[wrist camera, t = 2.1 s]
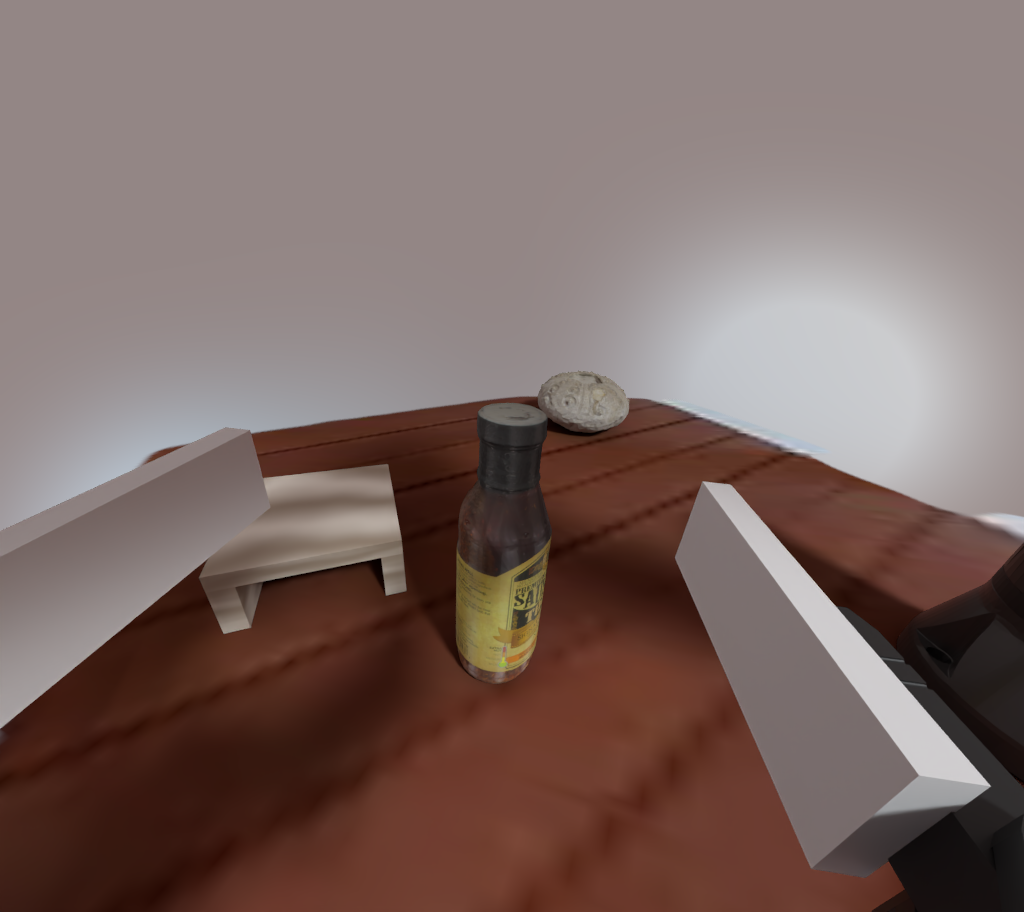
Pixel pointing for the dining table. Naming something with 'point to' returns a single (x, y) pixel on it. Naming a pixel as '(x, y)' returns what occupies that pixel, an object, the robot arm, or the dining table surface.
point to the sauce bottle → (502, 546)
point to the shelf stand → (307, 538)
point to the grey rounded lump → (583, 401)
